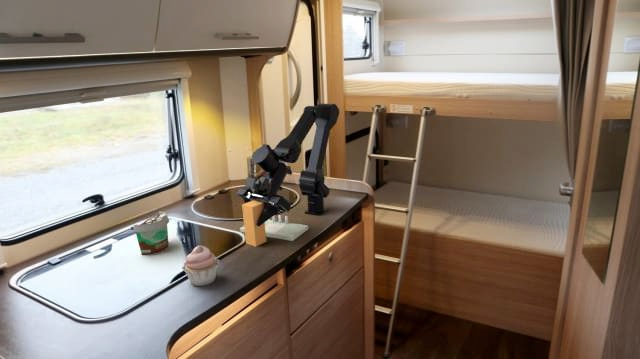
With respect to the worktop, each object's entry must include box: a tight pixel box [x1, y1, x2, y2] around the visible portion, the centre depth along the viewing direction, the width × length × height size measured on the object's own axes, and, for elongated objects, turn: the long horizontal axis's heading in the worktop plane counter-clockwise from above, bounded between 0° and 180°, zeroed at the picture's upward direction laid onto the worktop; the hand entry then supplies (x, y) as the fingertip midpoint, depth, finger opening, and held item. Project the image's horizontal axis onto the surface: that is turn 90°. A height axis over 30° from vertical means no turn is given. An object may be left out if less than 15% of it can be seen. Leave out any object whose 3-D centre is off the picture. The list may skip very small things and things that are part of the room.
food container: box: [133, 211, 170, 256], centre depth 137 cm, size 12×6×10 cm, turn 161°
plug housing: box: [241, 201, 267, 247], centre depth 137 cm, size 4×4×13 cm
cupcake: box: [181, 245, 220, 287], centre depth 116 cm, size 9×9×10 cm
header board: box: [239, 214, 309, 242], centre depth 147 cm, size 10×20×4 cm, turn 62°
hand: (250, 223), depth 136 cm, fingers open, 6 cm apart
